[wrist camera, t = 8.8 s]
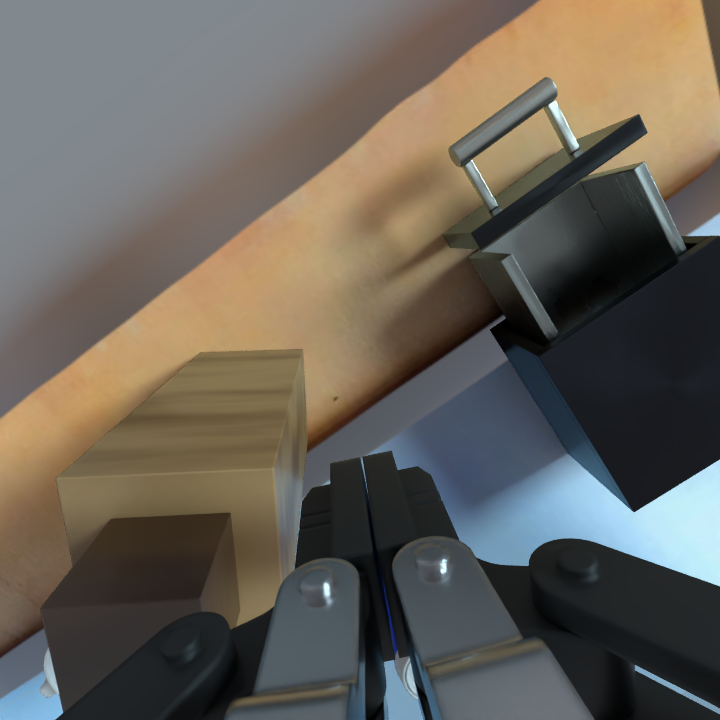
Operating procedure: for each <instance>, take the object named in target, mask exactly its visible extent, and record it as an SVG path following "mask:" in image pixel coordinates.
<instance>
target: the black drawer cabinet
mask: <svg viewBox="0 0 720 720" xmlns="http://www.w3.org/2000/svg"><path fill="white" fill-rule="evenodd" d="M681 238H682V240H683V242H684V244H685V246H686V248H687V250H688V251H686V252H685V253H683V254H682V255H681V256H679V257H678V258H676V259H675V260H673V261H672V262H670V263H669V264H667V265H666V266H664V267H663V268H661V269H660V270H658V271H657V272H655V273H654V274H652V275H651V276H649V277H648V278H646V279H645V280H643V281H642V282H640V283H639V284H637V285H636V286H634V287H633V288H631V289H630V290H628V291H627V292H625V293H624V294H622V295H621V296H619V297H618V298H616V299H615V300H613V301H612V302H610V303H609V304H607V305H606V306H604V307H603V308H601V309H600V310H598V311H597V312H595V313H594V314H592V315H591V316H589V317H588V318H586V319H585V320H583V321H582V322H580V323H579V324H577V325H576V326H574V327H573V328H571V329H570V330H568V331H567V332H565V333H564V334H562V335H561V336H560V337H558V338H557V339H555V340H554V341H552V342H551V343H549V344H548V345H546V346H545V347H543V346H541V345H539V344H537V343H535V342H533V341H531V340H529V339H527V338H525V337H523V336H521V335H519V334H517V333H515V332H514V330H513V329H512V327H511V325H510V324H509V322H508V321H507V319H505V320H503V321H502V322H500V323H499V324H497V325H496V326H494V327H493V328H492V329H490V331H491V333H492V334H493V336H494V337H495V339H496V340H497V342H498V344H499V345H500V347H501V348H502V350H503V351H504V353H505V355H506V356H507V358H508V359H509V361H510V363H511V364H512V366H513V367H514V369H515V370H516V372H517V374H518V375H519V377H520V378H521V380H522V381H523V383H524V385H525V386H526V388H527V389H528V391H529V393H530V394H531V396H532V397H533V399H534V400H535V402H536V404H537V405H538V407H539V408H540V410H541V411H542V413H543V415H544V416H545V418H546V419H547V421H548V423H549V424H550V426H551V427H552V429H553V430H554V432H555V434H556V435H557V437H558V438H559V440H560V442H561V443H562V445H563V446H564V448H565V449H566V451H567V453H568V454H569V455H570V456H571V457H573V458H574V459H575V460H576V461H577V462H578V463H579V464H580V465H581V466H583V467H584V468H585V469H586V470H587V471H588V472H589V473H590V474H591V475H593V476H594V477H595V478H596V479H597V480H598V481H599V482H600V483H602V484H603V485H604V486H605V487H606V488H607V489H608V490H609V491H611V492H612V493H613V494H614V495H615V496H616V497H617V498H618V499H620V500H621V501H622V502H623V503H624V504H625V505H626V506H627V507H628V508H630V509H631V510H632V511H633V512H635V511H637V510H639V509H640V508H642V507H644V506H645V505H647V504H648V503H650V502H652V501H653V500H655V499H656V498H658V497H660V496H661V495H663V494H665V493H666V492H668V491H669V490H671V489H673V488H674V487H676V486H677V485H679V484H681V483H682V482H684V481H686V480H687V479H689V478H690V477H692V476H694V475H695V474H697V473H699V472H700V471H702V470H703V469H705V468H707V467H708V466H710V465H711V464H713V463H715V462H716V461H718V460H720V236H681Z"/></svg>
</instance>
